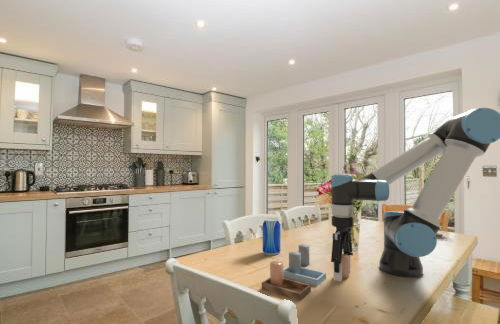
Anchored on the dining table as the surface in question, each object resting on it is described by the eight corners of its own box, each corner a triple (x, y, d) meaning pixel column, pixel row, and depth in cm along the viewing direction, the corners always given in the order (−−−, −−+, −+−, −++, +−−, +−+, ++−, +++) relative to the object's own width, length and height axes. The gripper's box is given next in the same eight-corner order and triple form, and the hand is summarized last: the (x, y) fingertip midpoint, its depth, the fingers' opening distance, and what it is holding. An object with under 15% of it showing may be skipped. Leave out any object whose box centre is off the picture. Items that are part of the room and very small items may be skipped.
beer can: (279, 257, 126) (279, 221, 126) (261, 255, 127) (261, 220, 128) (281, 251, 134) (281, 218, 134) (264, 250, 136) (264, 217, 136)
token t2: (350, 276, 103) (350, 255, 103) (346, 280, 100) (346, 258, 100) (338, 273, 106) (338, 252, 106) (334, 277, 102) (334, 255, 102)
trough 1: (310, 293, 90) (310, 285, 90) (300, 302, 84) (300, 294, 84) (273, 282, 98) (273, 275, 98) (261, 290, 92) (261, 282, 92)
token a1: (285, 286, 93) (285, 262, 94) (279, 291, 90) (279, 266, 90) (274, 283, 96) (274, 260, 96) (267, 287, 92) (267, 263, 93)
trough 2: (326, 279, 100) (326, 272, 100) (317, 287, 94) (317, 279, 94) (291, 271, 109) (291, 264, 109) (281, 277, 102) (281, 270, 102)
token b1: (302, 274, 104) (302, 253, 104) (297, 278, 100) (297, 256, 100) (292, 271, 106) (292, 251, 107) (286, 275, 103) (286, 253, 103)
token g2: (311, 264, 116) (311, 245, 116) (306, 267, 112) (306, 247, 112) (301, 262, 118) (301, 243, 119) (296, 265, 115) (296, 246, 115)
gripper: (341, 210, 114) (342, 265, 114) (321, 219, 97) (321, 284, 96) (360, 212, 110) (361, 269, 109) (342, 221, 92) (342, 289, 92)
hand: (342, 276), depth 103 cm, fingers open, 9 cm apart
